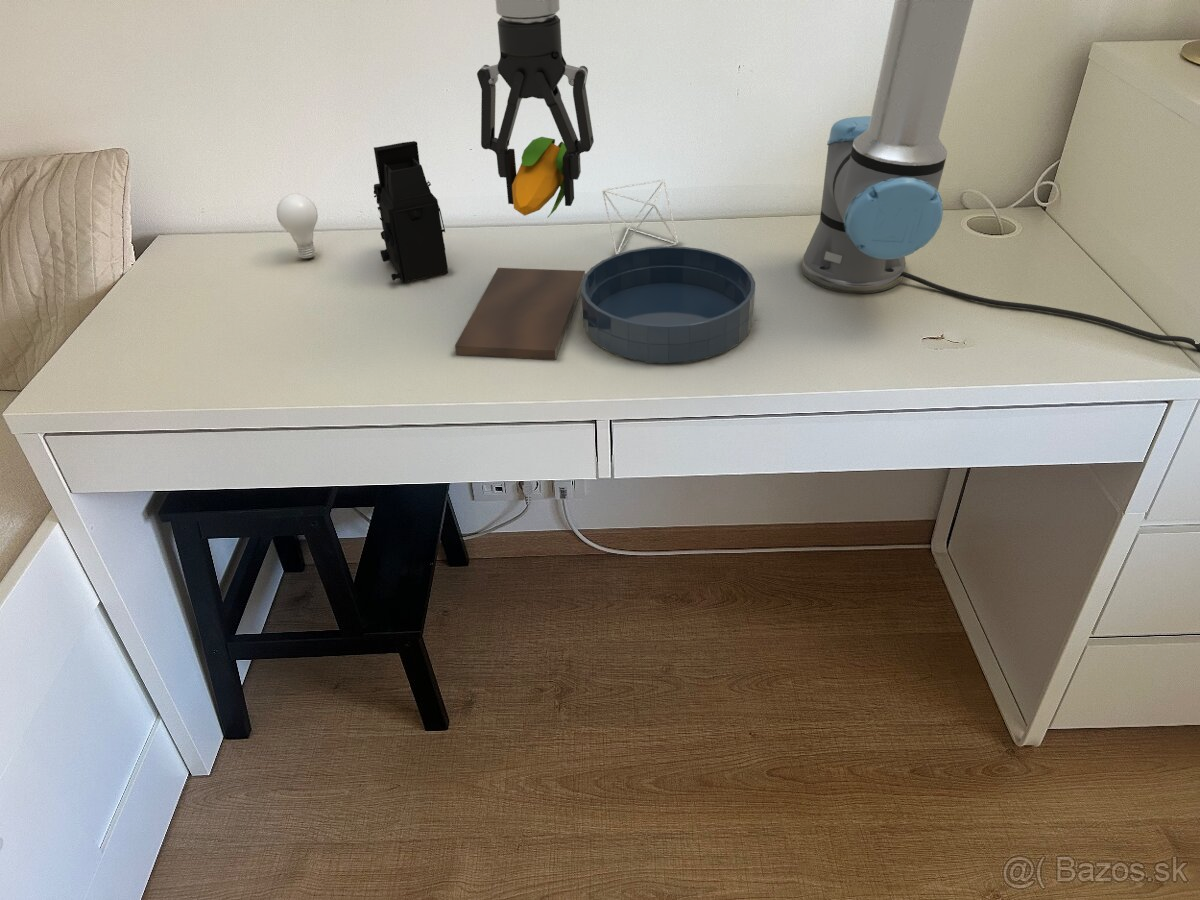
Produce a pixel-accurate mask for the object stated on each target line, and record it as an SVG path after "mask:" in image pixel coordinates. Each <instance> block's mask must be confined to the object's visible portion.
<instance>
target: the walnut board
mask: <svg viewBox="0 0 1200 900" xmlns="http://www.w3.org/2000/svg"><path fill="white" fill-rule="evenodd" d="M585 274H586V270H574V269H572V270H571V269H546V268H545V269H544V268H515V267H497V268H496V271H495V272H494V274H493V276H492V277H491V279H490V281H489V283H488V285H487V286H486V288H485V290H484V292H483V293H482V296H481V297H480V299H479V301H478V303H477V305H476V307H475V309H474V310H473V312H472V314H471V316H470V318H469V319H468V321H467V322H466V325H465V326H464V328H463V330H462V332H461V334H460V336H459V337H458V339H457V341H456V343H455V344H454V349H455V354H456V356H470V357H471V356H472V357H493V358H512V359H529V360H530V359H531V360H551V361H555V360H557V357H558V354H559V351H560V349H561V346H562V344H563V341H564V339H565V336H566V333H567V329H569V325H570V322H571V320H572V317H573V314H574V311H575V309H576V306H577V305H578V304H577V303H578V300H579V298H580V296H581V283H582V280H583V278H584V275H585Z"/></svg>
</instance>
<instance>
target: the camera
mask: <svg viewBox="0 0 1200 900" xmlns="http://www.w3.org/2000/svg"><path fill="white" fill-rule="evenodd" d="M373 153H374V158H375V165H376V171H377V176H378V177H377V178H378V183H374V184H373V198H376V204H377V205H378V206H377V210H378V212H379V214H380V216H379V220H380V221H381V226H382V231H381V232H380V238H381V239H382V240H383V241H384V245H385V249H382V250H379V252H380V257H381V260H382V262H383V263H387V262H389V263H390V264H391V266H392V267H393V269H394V271H395V272H396V273H395V272H394V273H391V275H390V276H391V279H392V281H396V280H399V279H400V282H401V284H402V283H403V284H404V283H409V282H412V281H417V280H421V279H425V278H430V277H434V276H439V275H443V274H448V273H449V267H448V260H447V253H446V245H445V240H444V233H446V228H445V224H444V220H443V216H442V211H441V207H440V206H439V202H438V201H439V199H437V198H436V196H435V195H434V194H433V193H432V191H431V189H430V186H432V184H431V182H430V181H429V180H427V179H426V178H427V177H426V176H425V172H424V169H423V166H422V164H420V163H421V162H420V153H419V147H418V142H417V141H415V140H412V141H404V142H399V143H393V144H387V145H382V146H375V147H373Z"/></svg>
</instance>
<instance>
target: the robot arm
mask: <svg viewBox="0 0 1200 900" xmlns="http://www.w3.org/2000/svg"><path fill="white" fill-rule="evenodd" d="M974 1H975V0H894V3H893V7H892V13H891V18H890V23H889V28H888V33H887V38H886V43H885V47H884V52H883V56H882V61H881V65H880V70H879V76H878V80H877V84H876V85H877V86H876V90H875V95H874V100H873V105H872V109H871V114H870V115H861V116H852V117H846V118H842V119H839V120H836V122H834V123H833V124H832V126H831V128H830V132H829V138H828V140H827V144H826V145H827V155H826V163H825V170H824V171H825V173H824V178H823V179H824V180H823V188H822V189H823V190H822V198H821V205H820V206H821V207H820V216H819V222H818V223H817V226H816V228H815V230H814V232H813V234H812V237H811V239H810V240H809V243H808V245H807V247H806V249H805V252H804V254H803V260H802V266H801V267H802V269H801V270H802V273H803V274H804V276H805V278H807V279H808V280H809V281H811V282H812V283H813V284H816V285H818V286H820V287H823V288H824V289H829V290H831V291H836V292H840V293H847V294H848V293H849V294H870V293H878V292H883V291H886V290H890V289H892V288H894V287H896V286H897V285H899V284H900V283H901V282H902V281H903V279H904V278H906V279H909V280H912V281H914V282H917V283H919V284H921V285H924V286H926V287H928V288H931V289H934V290H937V291H939V292H943V293H946V294H949V295H952V296H956V297H959V298H962V299H966V300H968V301H969V300H970V301H973V302H978V303H982V304H987V305H992V306H993V305H994V306H999V307H1007V308H1015V309H1016V308H1017V309H1025V310H1031V311H1040V312H1046V313H1052V314H1057V315H1062V316H1068V317H1072V318H1073V317H1074V318H1077V319H1083V320H1087V321H1092V322H1094V323H1095V322H1096V323H1099V324H1103V325H1106V326H1110V327H1114V328H1117V329H1120V330H1123V331H1126V332H1129V333H1132V334H1135V335H1138V336H1142V337H1145V338H1148V339H1152V340H1157V341H1164V342H1179V343H1185V344H1188V345H1191V346H1192V347H1194V348H1195V349H1196V350H1197V352H1199V353H1200V342H1199V344H1195V341H1194V340H1195V339H1194V338H1191V337H1188V336H1180V335H1179V336H1178V335H1164V334H1158V333H1154V332H1150V331H1146V330H1143V329H1141V328H1140V329H1139V328H1136V327H1135V326H1130V325H1127V324H1125V323H1121V322H1118V321H1116V320H1115V321H1114V320H1111V319H1108V318H1104V317H1101V316H1096V315H1092V314H1088V313H1083V312H1078V311H1073V310H1068V309H1063V308H1057V307H1050V306H1046V305H1045V306H1044V305H1038V304H1031V303H1024V302H1015V301H1004V300H999V299H998V300H997V299H992V298H986V297H981V296H977V295H973V294H969V293H965V292H961V291H958V290H955V289H951V288H949V287H946V286H943V285H940V284H938V283H937V284H936V283H934V282H931V281H929V280H927V279H924V278H922V277H920V276H918V275H917V276H916V275H914V274H911V273H909V272H906V264H907V263H906V257H907V256H910V255H912V254H914V253H915V252H917V251H918V250H920V249H921V248H922V249H923V248H924V247H925V246H926V245H927V244H929V242H930V241H931V240H933V238H934V237H935V235H936V233H937V232H938V230H939V229H940V227H941V224H942V221H943V215H944V214H943V213H944V212H943V211H944V210H943V209H944V208H943V199H942V196H941V193H940V192H939V187H940V183H941V179H942V175H943V172H944V169H945V165H946V159H947V156H948V150H947V149H946V148H947V147H946V146H945V145H944V144H943V143H942V141H941V139H940V133H941V129H942V125H943V121H944V118H945V113H946V111H947V106H948V102H949V98H950V94H951V90H952V86H953V82H954V78H955V74H956V71H957V67H958V63H959V60H960V55H961V52H962V47H963V44H964V39H965V36H966V32H967V28H968V23H969V19H970V16H971V13H972V9H973V4H974ZM495 11H496V14H497V15H498V16H500V18H499V19H498V21H497V33H498V44H499V60H498V62H497V64H493V65H489V64H484V65H482V66H481V68H479V69H478V71H477V73H476V77H477V80H478V82H479V86H480V89H481V102H480V103H481V105H480V106H481V109H480V111H481V113H480V114H481V117H480V118H481V119H480V146H481V148H482V149H483V150H490V151H492V152H494V153H495V155H496V163H497V174H498V176H499V178H505V183H506V194H507V204H508V205H513V192H512V184H513V182H514V179H515V177H516V175H517V164H516V154H515V153H516V152H515V148H509V146H510V141H511V137H512V134H513V130H514V126H515V124H516V119H517V116H518V113H519V109H520V106H521V102H522V100H523V99H529V98H534V99H539V100H544V102H545V105H546V106H547V108H548V109H549V111H550V114H551V116H552V118H553V121H554V124H555V125H556V128H557V130H558V133H559V135H560V137H561V139H562V142H563V143H564V144H565V147H566V149H567V150H566V152H565V154H564V156H563V174H564V193H565V195H564V206H565V207H572V204H573V202H574V201H575V185H574V184H575V183H574V182H575V181H576V180H579V178H580V176H581V174H582V170H581V168H582V167H581V154H583V153H588V152H590V151H591V150H592V147H593V145H594V141H595V140H594V134H593V133H594V132H593V127H592V120H591V114H590V113H591V112H590V107H589V101H588V94H587V88H586V84H587V81H588V74H589V70H588V69H589V68H588V67H587V66H585V65H580V66H579V67H578V66H577V67H576V66H573V65H571V64H570V65H569V64H567V61H566V60H565V58H564V56H563V49H562V29H561V28H562V27H561V18H560V17H559V16H558V15H557V13H558V12H559V11H560V0H495ZM499 75H500V76H501V77H502V79H503V80H504V81H505V83H506V84H507V85H508V87H509V88H510V89H509V94H508V97H507V101H506V102H507V103H506V106H505V111H504V115H503V118H502V121H501V125H500V129H499V133H498V136H497V137H496V96H497V93H496V91H497V89H496V88H497V87H496V84H497V83H498V81H499ZM563 76H566V77H567V81H568V84H569V86H571V87H572V97H573V104H574V109H575V115H576V116H575V117H576V123H577V128H578V135H579V138H578V135H577V133H576V130H575V128H574V126H573V123H572V121H571V118H570V117H569V114H568V111H567V109H566V106H565V104H564V101H563V99H562V94H561V92H560V89H559V86H558V85H559V83H560V81H561V80H562V78H563ZM574 180H575V181H574Z"/></svg>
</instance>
